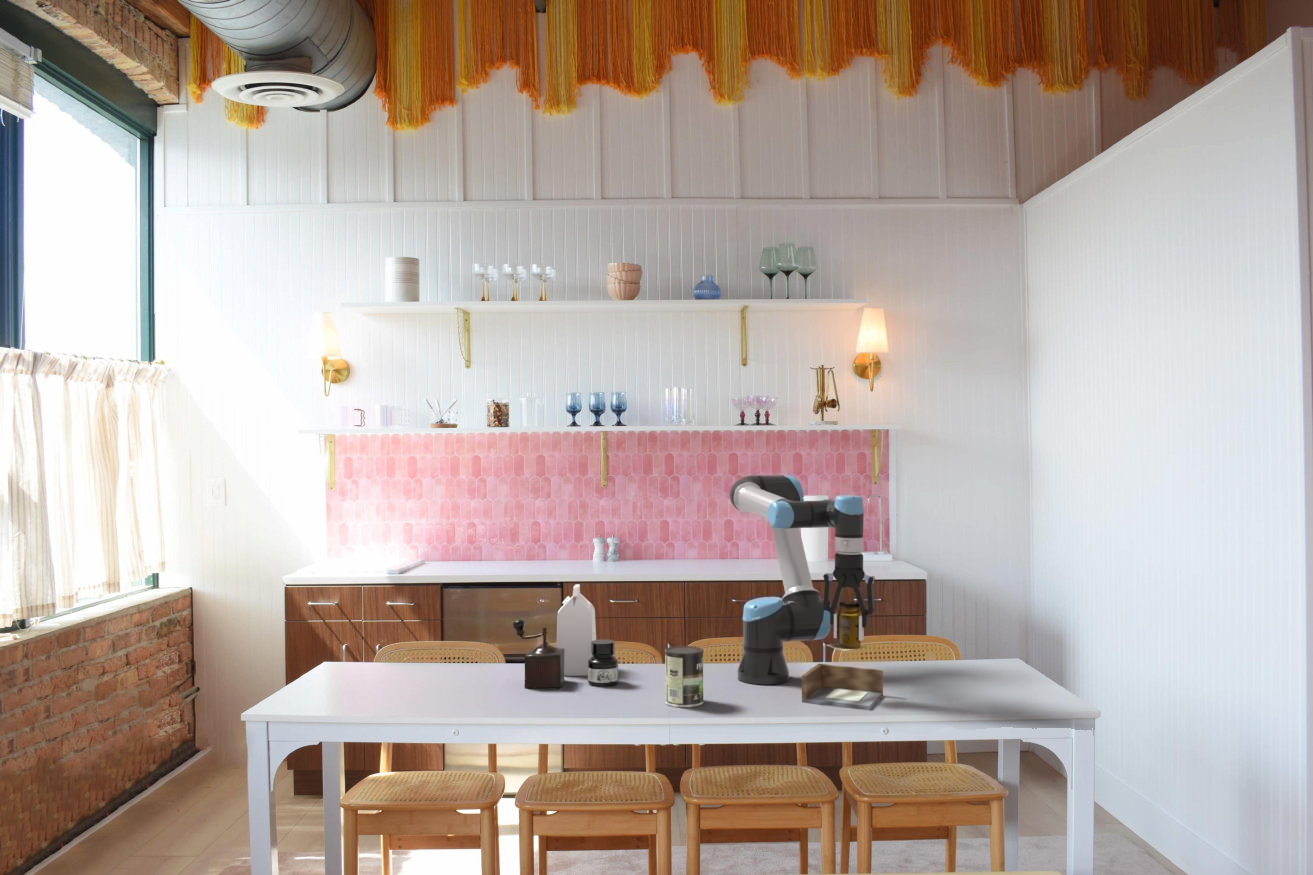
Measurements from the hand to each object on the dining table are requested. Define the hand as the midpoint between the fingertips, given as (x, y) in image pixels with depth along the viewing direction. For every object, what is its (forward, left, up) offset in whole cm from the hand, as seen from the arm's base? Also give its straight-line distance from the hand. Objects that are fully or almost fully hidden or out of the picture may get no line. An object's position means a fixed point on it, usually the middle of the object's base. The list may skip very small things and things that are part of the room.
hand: (848, 638), depth 248 cm
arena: (-2, -1, -16) cm, 16 cm away
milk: (-84, -4, -17) cm, 85 cm away
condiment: (-1, 0, -3) cm, 3 cm away
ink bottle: (-69, -14, -17) cm, 72 cm away
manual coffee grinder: (-86, -23, -17) cm, 90 cm away
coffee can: (-39, -23, -17) cm, 48 cm away
